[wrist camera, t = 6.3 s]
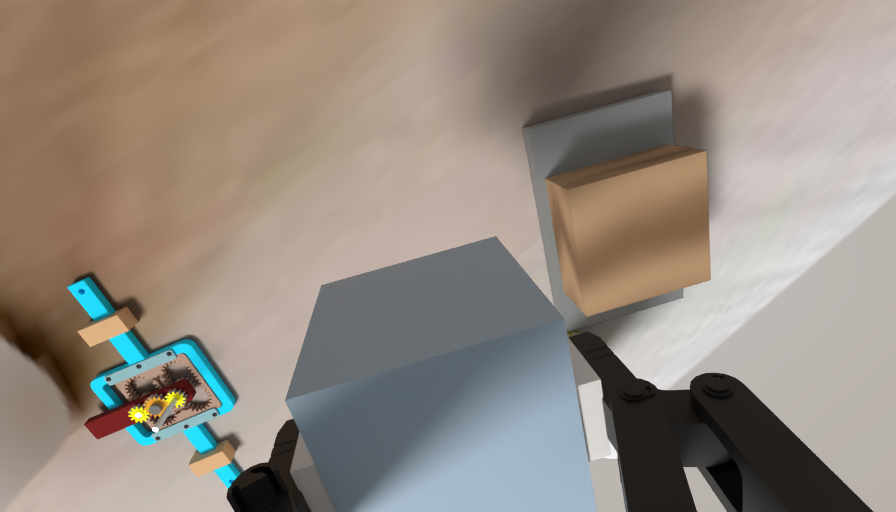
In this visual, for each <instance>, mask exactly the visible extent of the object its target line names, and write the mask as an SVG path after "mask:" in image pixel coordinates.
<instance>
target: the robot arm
mask: <svg viewBox="0 0 896 512" xmlns="http://www.w3.org/2000/svg"><path fill="white" fill-rule="evenodd" d="M567 338H568V344H569V350H570V356H571V361H572V367H573V373H574V379H575V385H576V391H577V397H578V403H579V409H580V414H581V420H582V426H583V432H584V438H585V444H586V450H587V456H588V462H590V461H593V460H596V459H599V458H603V457H606V456H609V455H611V449H610V442H611V444H612V445H613V447H614V448H615V450H616V451H617V457H618V465H619V471H620V479H621V483H622V489H623V496H624V502H625V508H626V512H697V510H696V507H695V504H694V501H693V497H692V494H691V491H690V488H689V485H688V482H687V479H686V475H685V472H684V469H683V467H697V468H698V469H699V471H700V472H701V474H702V475H703V477H704V478H705V479H706V481H707V482H708V484H709V485H710V487H711V488H712V490H713V491H714V493H715V494H716V496H717V497H718V499H719V500H720V502H721V503H722V504H723V506H724V508H725V509H726V511H727V512H873V511H872V510H871V509H870V508H869V507H868V506H867V505H866V504H865V503H864V502H863V501H862V500H861V499H860V498H859V497H858V496H857V495H856V494H855V493H854V492H853V491H852V490H851V489H850V488H849V487H848V486H847V485H846V484H845V483H844V482H843V481H842V480H841V479H839V477H838V476H837V475H835V474H834V472H833V471H831V470H830V469H829V468H828V467H827V466H826V465H825V464H824V463H823V462H822V461H821V460H820V459H819V458H818V457H817V456H816V455H815V454H814V453H813V452H812V451H811V450H810V449H809V448H808V447H807V446H806V445H805V444H804V443H803V442H802V441H801V440H800V439H799V438H798V437H797V436H796V435H795V434H794V433H793V432H792V431H791V430H790V429H789V428H788V427H787V426H786V425H785V424H784V423H783V422H782V421H781V420H780V419H779V418H778V417H777V416H776V415H774V413H773V412H772V411H771V410H770V409H768V407H766V405H765V404H763V403H762V402H761V401H760V400H759V399H758V398H757V397H756V396H755V395H754V394H753V393H752V392H751V391H750V390H749V389H748V388H747V387H746V386H745V385H744V384H743V383H742V382H740V381H739V380H738V379H736V378H734V377H731V376H729V375H726V374H720V373H705V374H702V375H699V376H696V377H695V378H694V379H693V380H692V381H691V384H690V390H659V389H657V388H656V386H655V385H653V384H652V383H650V382H649V381H645V380H642V379H637V378H636V377H635V376H634V375H633V374H632V373H631V372H630V371H629V369H628V368H627V367H626V366H625V365H624V364H623V363H622V362H621V361H620V359H619V358H618V357H617V356H616V355H614V353H613V352H612V351H611V349H610V348H608V347H607V345H606V344H605V343H604V342H603V341H602V340H601V338H600V337H598V336H596V335H593V334H591V333H589V332H584V333H581V334H577V335H574V336H571V337H568V336H567ZM609 441H610V442H609ZM227 499H228V501H229V503H230V504H231V506H232V508H233V510H234V511H235V512H337V511H336V509H335V507H334V505H333V502H332V500H331V498H330V496H329V494H328V492H327V490H326V487H325V485H324V483H323V481H322V479H321V477H320V474H319V472H318V470H317V468H316V466H315V464H314V461H313V459H312V457H311V455H310V453H309V451H308V449H307V446H306V444H305V442H304V440H303V438H302V436H301V433H300V431H299V429H298V427H297V425H296V423H295V421H294V419H291V420H288V421H286V423H285V424H284V425H283V427H282V428H281V429H280V431H279V432H278V433H277V437H276V440H275V443H274V448H273V450H272V453H271V458H270V459H269V462H267V463H259V464H257V465H255V466H252V467H250V468H248V469H247V470H245V471H244V472H242V473H241V474H240V475H239V476H238V477H237V478H236V479H235V480H234V481H233V482H232V484H231V486H230V487H229V489H228V492H227Z"/></svg>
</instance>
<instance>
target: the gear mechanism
mask: <svg viewBox="0 0 896 512" xmlns="http://www.w3.org/2000/svg"><path fill="white" fill-rule="evenodd" d="M68 289H69V290H70V291H71V292H72V294H73V295H74V296H75V297H76V299H77V300H78V301H79V302H80V304H81V305H82V306H83V307H84V309H85V310H86V311H87V312H88V314H89V315H90V316H91V317H92V319H93V321H91V322H89V323H87V324H86V325H85V326H84V327H82V328H81V329H80V330H79V331H78V333H79V334H80V335H81V336H82V338H83V339H84V340H85V341H86V342H87V344H88V345H89V346H90V347H91V346H94V345H96V344H98V343H101V342H103V341H106V340H108V339H109V340H110V341H111V342H112V344H113V345H114V346H115V347H116V349H117V350H118V351H119V352H120V354H121V355H122V356H123V358H124V359H125V360H126V361H127V363H126V364H124V365H121V366H119V367H116V368H114V369H112V370H109V371H107V372H104V373H102V374H100V375H98V376H97V377H96V378H95V379H94V380H93V381H92V382H91V389H92V390H93V391H94V392H95V394H96V395H97V396H98V397H99V398H100V399H101V400H102V402H103V403H104V404H105V405H106V406H107V407H108V409H109V410H108V411H106V412H104V413H101V414H99V415H96V416H94V417H92V418H89V419H88V420H87V422H86V423H85V424H84V425H85V426H86V427H87V428H88V430H89V431H90V432H91V433H92V434H93V435H94V436H95V437H96V438H97V439H100V438H102V437H105V436H107V435H109V434H112V433H114V432H117V431H119V430H121V429H124V428H126V429H127V431H128V432H129V433H130V434H131V435H132V436H133V438H134V439H135V440H136V441H137V442H138V443H139V444H141V445H151V444H153V443H155V442H158V441H161V440H163V439H166V438H168V437H170V436H173V435H175V434H178V433H180V432H183V433H184V434H185V435H186V436H187V438H188V439H189V440H190V441H191V443H192V444H193V445H194V446H195V448H196V449H197V450H198V452H196V453H194V455H193V457H192V459H191V461H190V463H189V465H188V466H189V467H190V468H191V470H192V471H193V472H194V473H195V474H196V476H197V477H199V476H201V475H204V474H206V473H208V472H211V471H213V470H214V471H215V473H216V474H217V475H218V476H219V478H220V479H221V480H222V481H223V483H224V484H225V485H226V486H227V488H228V489H229V487H230V486H231V484H232V482H233V481H234V480H235V479H236V478H237V477H238V476H239V475H240V474H241V473H240V472H239V471H238V469H237V468H236V467H235V465H234V464H233V463H232V460H233V457H234V455H235V452H236V450H235V449H234V448H233V446H232V445H231V444H230V443H229V441H228V440H225V441H222V442H220V443H217V442H216V441H215V439H214V438H213V437H212V436H211V434H210V433H209V432H208V430H207V429H206V428H205V426H204V425H203V424H202V423H204V422H206V421H209V420H211V419H213V418H216V417H218V416H220V415H222V414H225V413H227V412H229V411H231V410H232V409H233V407H234V405H235V402H236V400H235V398H234V396H233V395H232V393H231V392H230V390H229V389H228V388H227V386H226V385H225V383H224V382H223V381H222V379H221V378H220V376H219V375H218V374H217V372H216V371H215V369H214V368H213V367H212V365H211V364H210V362H209V361H208V360H207V358H206V357H205V355H204V354H203V353H202V351H201V350H200V348H199V347H198V346H197V344H196V343H195V342H194V341H192V340H189V339H184V340H181V341H179V342H176V343H174V344H172V345H169V346H167V347H164V348H162V349H160V350H157V351H155V352H152V353H150V354H148V352H147V351H146V350H145V348H144V347H143V346H142V345H141V343H140V342H139V341H138V339H137V338H136V337H135V335H134V334H133V333H132V332H131V330H130V329H131V328H132V327H133V326H135V325H136V324H137V323H138V321H137V319H136V318H135V317H134V315H133V314H132V313H131V311H130V310H129V309H128V307H124V308H122V309H120V310H117V311H115V309H114V308H113V307H112V306H111V304H110V303H109V302H108V300H107V299H106V298H105V296H104V295H103V294H102V293H101V291H100V290H99V289H98V287H97V286H96V285H95V283H94V282H93V281H92V280H91V278H90V277H87V278H85V279H82V280H80V281H77V282H75V283H73V284H71V285H70V286H68ZM175 362H177V363H178V364H179V362H181V364H182V365H183V364H184V363H185V364H186V365H185V366H186V367H187V366H189V368H188V370H190V369H192V370H191V373H194V374H193V376H197V377H196V378H195V379H199V380H198V383H200V382H201V384H200V386H203V389H206V390H205V392H208V394H207V395H210V396H209V398H210V400H209V402H208V403H205V405H203V404H201V406H199V404H197V406H195V404H194V403H193V404H192V405H191V400H192V399H193V397H194V396H195V394H196V390H195V389H194V388H195V387H194V385H195V383H192V381H193V380H189V377H187V378H186V379H185V378H184V377H182V378H181V379H180V378H178V379H177V381H176V382H175V383H173V382H174V380H170V379H171V378H172V377H168V376H169V373H168V374H166V373H167V370H166V369H167V367H166V366H167V365H168V364H169V365H170V364H171V363H175ZM139 377H141V378H142V379H143V378H144V377H146V380H147V379H148V378H151V377H152V381H154V382H153V383H152V384H157V385H156V386H155V388H158V387H159V389H158V390H156V391H154V392H151V393H150V392H149V391H148V392H147V393H143V394H142V395H141V397H139V394H138V395H136V393H137V391H134V392H133V390H134V388H131V387H132V385H130V384H131V383H132V380H134V379H135V378H139ZM114 384H115V385H116V386H117V388H118V389H119V390H120V391H121V392H122V394H123V395H124V396H125V397H126V398H127V400H128V401H129V402H127V403H125V404H124V403H123V402H122V400H121V399H120V398H119V397H118V396H117V394H116V393H115V392H114V391H113V390H112V388H111V387H110V386H111V385H114ZM109 385H110V386H109ZM138 397H139V398H138ZM188 401H190V402H188ZM172 409H173V410H175V411H174V412H176V411H177V410H178V411H177V412H176V414H175V416H174V418H173V417H172V418H171V419H169V418H168V419H167V420H166V418H167V417H168V415H169V414H170V412H171V411H172ZM157 415H158V416H159V417H160V418H158V419H157ZM143 421H146V422H147V424H148V425H149V426H150V427H151V428H152V430H153V431H152V432H149V431H147V430H146V429H145V428H144V427H143V425H142V424H141V423H142V422H143ZM140 422H141V423H140Z"/></svg>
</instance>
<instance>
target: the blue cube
mask: <svg viewBox="0 0 896 512" xmlns="http://www.w3.org/2000/svg"><path fill="white" fill-rule="evenodd" d="M285 401H286V403H287V405H288V408H289V410H290V412H291V414H292V416H293V418H294V421H295V423H296V425H297V427H298V429H299V431H300V433H301V436H302V438H303V440H304V442H305V444H306V446H307V449H308V451H309V453H310V455H311V457H312V459H313V461H314V464H315V466H316V468H317V470H318V472H319V474H320V477H321V479H322V481H323V483H324V485H325V487H326V490H327V492H328V494H329V496H330V498H331V500H332V502H333V505H334V507H335V509H336V511H337V512H597V509H596V503H595V497H594V491H593V486H592V480H591V473H590V468H589V462H588V456H587V450H586V444H585V438H584V432H583V426H582V420H581V414H580V409H579V403H578V397H577V391H576V385H575V379H574V373H573V367H572V361H571V356H570V350H569V344H568V338H567V332H566V326H565V320H564V318H563V317H562V315H561V314H560V313H559V312H558V311H557V309H556V308H555V307H554V306H553V305H552V303H551V302H550V301H549V300H548V298H547V297H546V296H545V295H544V294H543V292H542V291H541V290H540V289H539V288H538V286H537V285H536V284H535V283H534V282H533V280H532V279H531V278H530V277H529V276H528V274H527V273H526V272H525V271H524V270H523V268H522V267H521V266H520V265H519V264H518V262H517V261H516V260H515V259H514V258H513V256H512V255H511V254H510V253H509V252H508V250H507V249H506V248H505V247H504V245H503V244H502V243H501V242H500V241H499V239H498V238H497V237H496V236H495V237H491V238H488V239H484V240H481V241H477V242H474V243H470V244H467V245H463V246H460V247H456V248H452V249H449V250H445V251H442V252H438V253H435V254H431V255H428V256H424V257H420V258H417V259H413V260H410V261H406V262H403V263H399V264H396V265H392V266H388V267H385V268H381V269H378V270H374V271H371V272H367V273H364V274H360V275H357V276H353V277H349V278H346V279H342V280H339V281H335V282H332V283H328V284H325V285H321V288H320V292H319V295H318V298H317V301H316V304H315V307H314V311H313V314H312V317H311V320H310V323H309V326H308V330H307V333H306V336H305V339H304V342H303V345H302V349H301V352H300V355H299V358H298V361H297V364H296V368H295V371H294V374H293V377H292V380H291V384H290V387H289V390H288V393H287V396H286V399H285Z"/></svg>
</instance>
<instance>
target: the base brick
mask: <svg viewBox="0 0 896 512" xmlns="http://www.w3.org/2000/svg"><path fill="white" fill-rule="evenodd" d="M545 182H546V188H547V193H548V199H549V205H550V211H551V217H552V223H553V229H554V235H555V241H556V247H557V253H558V259H559V265H560V271H561V277H562V283H563V289H564V293H565V294H566V295H567V296H568V297H569V298H570V299H571V300H572V301H573V303H574V304H575V305H576V306H577V307H578V308H579V309H580V310H581V311H582V312H583V313H584V314H585V315H586V317H588V316H591V315H594V314H598V313H601V312H605V311H608V310H611V309H615V308H618V307H621V306H625V305H628V304H631V303H635V302H638V301H642V300H645V299H648V298H652V297H655V296H658V295H662V294H665V293H669V292H672V291H675V290H679V289H682V288H685V287H689V286H692V285H695V284H699V283H702V282H706V281H709V280H711V273H710V242H709V211H708V180H707V151H705V150H700V149H694V148H688V147H682V146H676V145H670V144H666V145H662V146H659V147H655V148H652V149H648V150H645V151H641V152H637V153H634V154H630V155H627V156H623V157H620V158H616V159H612V160H609V161H605V162H602V163H598V164H595V165H591V166H587V167H584V168H580V169H577V170H573V171H570V172H566V173H563V174H559V175H555V176H552V177H548V178H545Z"/></svg>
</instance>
